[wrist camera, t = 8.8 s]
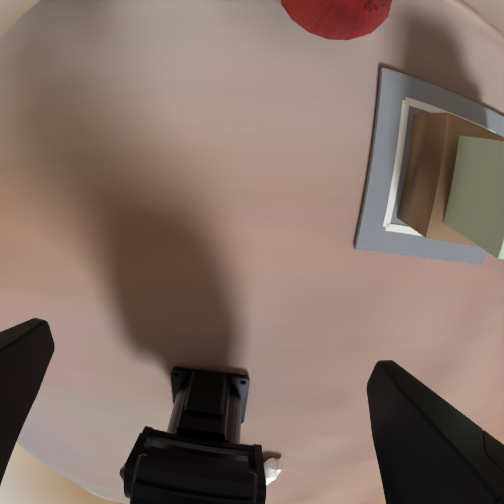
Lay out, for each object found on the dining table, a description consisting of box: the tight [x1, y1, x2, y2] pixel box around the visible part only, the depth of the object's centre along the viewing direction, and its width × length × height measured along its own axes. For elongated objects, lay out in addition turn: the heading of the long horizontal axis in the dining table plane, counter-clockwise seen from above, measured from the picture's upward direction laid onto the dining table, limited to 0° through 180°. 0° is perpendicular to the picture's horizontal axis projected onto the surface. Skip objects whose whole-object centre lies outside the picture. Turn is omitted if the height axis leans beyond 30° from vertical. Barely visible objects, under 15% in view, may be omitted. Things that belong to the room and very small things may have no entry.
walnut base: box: [397, 112, 504, 247], centre depth 16 cm, size 7×7×4 cm
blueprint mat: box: [354, 67, 504, 265], centre depth 18 cm, size 12×12×1 cm
